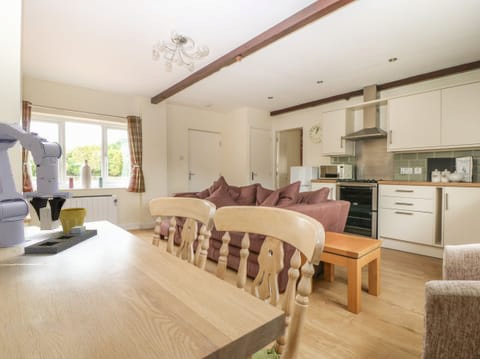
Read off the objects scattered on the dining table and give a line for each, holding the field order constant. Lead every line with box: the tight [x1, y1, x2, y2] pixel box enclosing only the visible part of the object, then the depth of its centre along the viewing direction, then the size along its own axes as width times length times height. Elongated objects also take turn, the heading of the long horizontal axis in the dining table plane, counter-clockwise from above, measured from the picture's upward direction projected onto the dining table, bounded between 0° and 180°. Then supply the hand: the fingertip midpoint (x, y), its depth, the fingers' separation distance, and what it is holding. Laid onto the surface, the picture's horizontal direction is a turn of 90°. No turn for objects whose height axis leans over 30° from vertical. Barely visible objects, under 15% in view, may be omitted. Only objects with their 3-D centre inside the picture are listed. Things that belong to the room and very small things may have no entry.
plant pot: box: [59, 207, 87, 233], centre depth 112 cm, size 10×10×10 cm
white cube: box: [71, 225, 87, 234], centre depth 101 cm, size 4×4×4 cm
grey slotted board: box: [23, 229, 98, 255], centre depth 93 cm, size 10×24×2 cm, turn 1°
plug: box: [39, 206, 60, 231], centre depth 85 cm, size 4×4×7 cm
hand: (48, 220), depth 85 cm, fingers closed on plug, 3 cm apart
